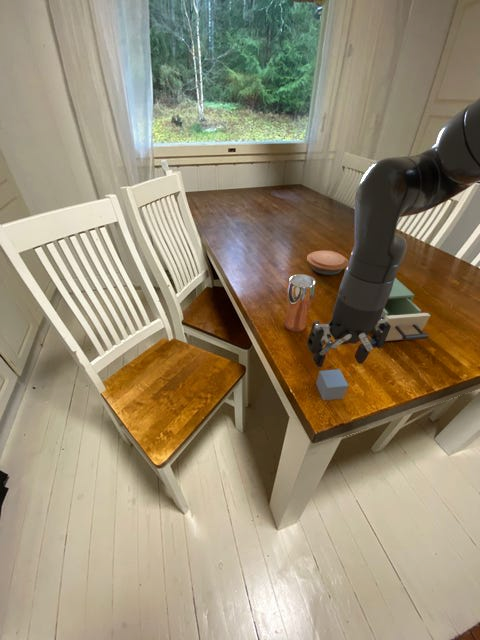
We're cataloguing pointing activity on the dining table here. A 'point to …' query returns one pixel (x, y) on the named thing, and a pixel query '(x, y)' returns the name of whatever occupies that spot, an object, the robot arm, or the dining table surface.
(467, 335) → the dining table surface
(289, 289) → the metal cup
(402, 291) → the cabinet
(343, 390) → the block
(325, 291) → the dining table surface
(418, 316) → the drawer
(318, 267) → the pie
